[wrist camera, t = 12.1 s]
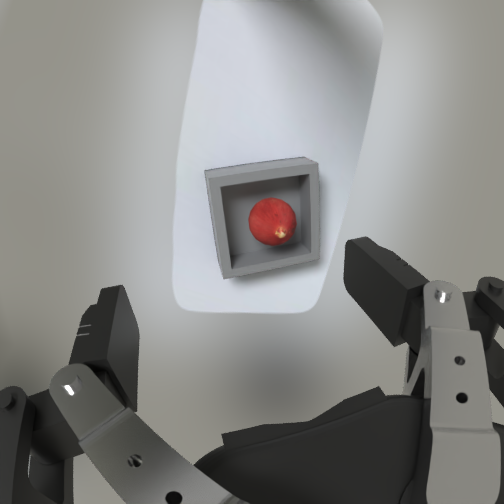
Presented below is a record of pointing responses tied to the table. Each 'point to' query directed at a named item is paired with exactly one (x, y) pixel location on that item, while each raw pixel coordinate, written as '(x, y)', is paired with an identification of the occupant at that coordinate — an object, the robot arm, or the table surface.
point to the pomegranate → (272, 221)
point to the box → (243, 200)
